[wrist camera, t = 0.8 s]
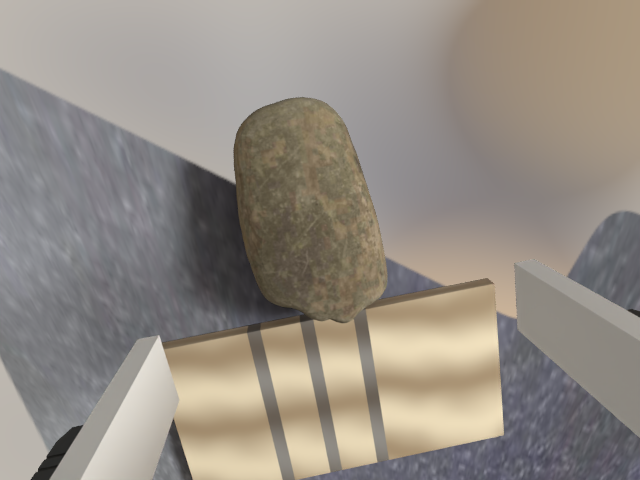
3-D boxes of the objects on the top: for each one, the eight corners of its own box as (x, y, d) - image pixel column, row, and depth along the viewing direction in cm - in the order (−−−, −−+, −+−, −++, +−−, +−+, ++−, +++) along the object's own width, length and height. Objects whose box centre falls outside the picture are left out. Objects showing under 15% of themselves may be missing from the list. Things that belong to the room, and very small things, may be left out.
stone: (282, 338, 33) (246, 342, 23) (249, 166, 36) (204, 106, 26) (396, 313, 32) (408, 306, 22) (352, 141, 35) (346, 69, 26)
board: (156, 343, 33) (152, 351, 32) (487, 278, 34) (494, 283, 33) (201, 488, 37) (199, 500, 36) (497, 425, 38) (503, 435, 37)
